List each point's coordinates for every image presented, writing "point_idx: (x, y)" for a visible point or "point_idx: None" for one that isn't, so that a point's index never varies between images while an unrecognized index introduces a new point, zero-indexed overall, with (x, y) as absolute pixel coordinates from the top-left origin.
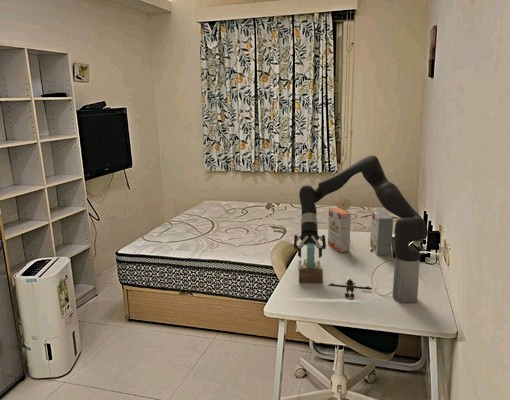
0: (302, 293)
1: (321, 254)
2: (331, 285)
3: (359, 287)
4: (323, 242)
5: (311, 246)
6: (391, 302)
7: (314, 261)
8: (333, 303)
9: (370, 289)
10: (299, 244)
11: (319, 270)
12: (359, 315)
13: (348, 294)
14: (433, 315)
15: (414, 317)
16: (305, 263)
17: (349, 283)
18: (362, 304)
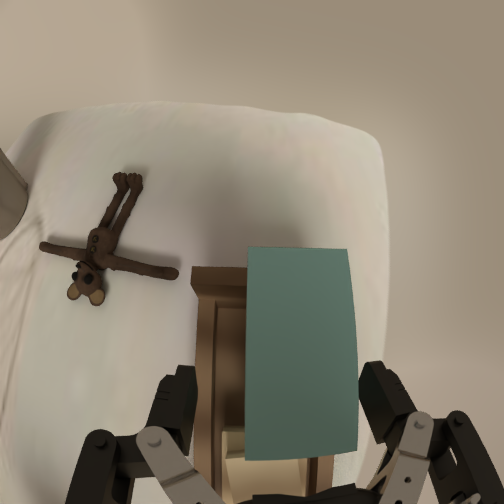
0: (299, 218)
1: (167, 379)
2: (166, 267)
3: (69, 247)
4: (99, 482)
5: (294, 300)
6: (42, 186)
7: (233, 476)
8: (192, 159)
9: (46, 242)
10: (428, 445)
11: (214, 267)
12: (144, 120)
13: (130, 173)
14: (19, 152)
15: (48, 137)
16: (296, 462)
17: (90, 265)
18: (110, 164)
